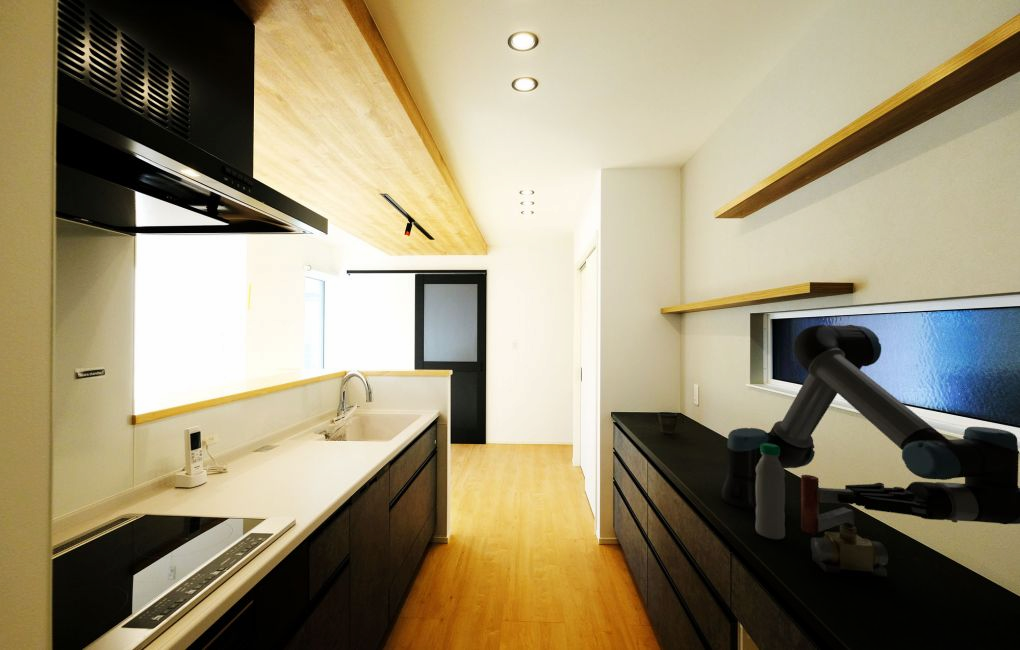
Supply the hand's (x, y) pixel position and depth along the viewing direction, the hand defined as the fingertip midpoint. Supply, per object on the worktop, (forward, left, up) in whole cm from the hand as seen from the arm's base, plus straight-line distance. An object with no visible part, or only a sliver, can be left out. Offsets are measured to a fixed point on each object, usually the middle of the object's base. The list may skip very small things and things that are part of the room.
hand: (819, 495), depth 94 cm
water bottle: (-25, +1, -21) cm, 33 cm away
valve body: (-10, +12, -21) cm, 26 cm away
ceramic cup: (-139, 0, -21) cm, 141 cm away
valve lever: (-6, +5, -11) cm, 13 cm away
